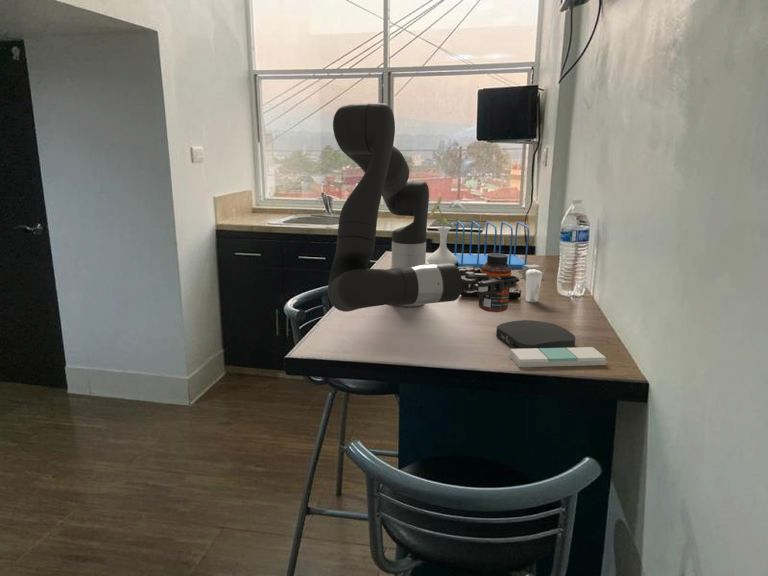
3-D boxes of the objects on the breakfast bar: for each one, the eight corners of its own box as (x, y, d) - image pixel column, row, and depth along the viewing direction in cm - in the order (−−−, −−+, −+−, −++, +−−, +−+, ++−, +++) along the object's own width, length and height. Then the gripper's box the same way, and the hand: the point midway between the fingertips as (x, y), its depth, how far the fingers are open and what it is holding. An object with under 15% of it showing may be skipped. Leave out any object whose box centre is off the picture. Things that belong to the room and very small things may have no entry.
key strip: (518, 367, 108) (519, 359, 108) (509, 355, 114) (509, 348, 114) (605, 365, 110) (606, 357, 110) (592, 354, 116) (592, 346, 115)
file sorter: (459, 268, 195) (461, 226, 191) (451, 259, 212) (453, 219, 208) (528, 269, 196) (532, 226, 192) (515, 259, 213) (519, 220, 209)
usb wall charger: (539, 278, 182) (540, 266, 181) (521, 279, 180) (522, 267, 179) (532, 275, 186) (533, 264, 185) (515, 276, 184) (516, 265, 183)
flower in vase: (436, 260, 208) (439, 194, 202) (463, 264, 201) (467, 196, 195) (418, 266, 198) (420, 196, 191) (445, 270, 191) (449, 198, 185)
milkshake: (543, 303, 152) (546, 268, 150) (523, 302, 153) (526, 267, 151) (542, 299, 157) (545, 265, 154) (523, 298, 158) (525, 264, 155)
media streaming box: (581, 350, 119) (583, 337, 118) (522, 356, 115) (524, 343, 114) (544, 328, 133) (545, 316, 132) (489, 334, 128) (490, 321, 128)
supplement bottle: (490, 314, 108) (494, 258, 105) (472, 306, 113) (476, 253, 110) (514, 311, 111) (518, 256, 108) (495, 303, 116) (499, 250, 113)
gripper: (451, 273, 97) (529, 266, 104) (416, 256, 110) (487, 252, 116) (449, 313, 99) (525, 304, 106) (415, 292, 112) (485, 285, 118)
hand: (505, 276), depth 111 cm, fingers closed on supplement bottle, 6 cm apart
